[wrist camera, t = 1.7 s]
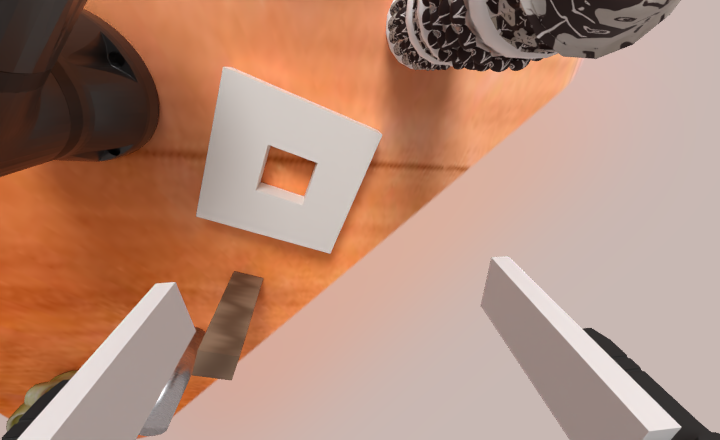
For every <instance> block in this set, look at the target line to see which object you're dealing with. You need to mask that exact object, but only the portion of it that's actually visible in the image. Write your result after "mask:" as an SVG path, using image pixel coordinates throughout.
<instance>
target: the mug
mask: <svg viewBox="0 0 720 440" xmlns="http://www.w3.org/2000/svg"><path fill="white" fill-rule="evenodd" d="M76 373H77V371H69V372H66V373H63V374H61V375H58V376H56V377H55V378H53V379H52V380H51V381H50V382H44V383H39V384H36V385H34V386H33V387H32V388H30V389H29V391H28V392H27V393H26V395H25V400H24V403H23V404H22V405H21V406H20V407H19V408H18V409H17V410H16V411H15V412H14V413H13V415H12V416H11V417H10V418H9V420H8V421H7V426H6V428H7V432H8V431H9V429H10V428H11V427H12V426H13V425H14V424H17V423H18V422H19V419H20V418H21V417H22V416H23V415H24V413H25V412H26V411H27V410H28V409H29V408H30V407H31V406H32V405H33V404H34V403H35V402H36V401H37V400H38V399H39V398H40V397H41V396H42V395H44V394H45V393H46V392H48V391H49V390H50V389H51V388H53V387H54V386H55V385H57V384H58V383H59V382H61V381H62V380H67V379H71V378H72V377H73V376H74V375H75V374H76Z"/></svg>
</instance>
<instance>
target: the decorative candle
mask: <svg viewBox="0 0 720 440" xmlns="http://www.w3.org/2000/svg"><path fill="white" fill-rule="evenodd" d="M680 1H681V0H393V2H392V4H391V7H390V9H389V11H388V14H387V23H386V36H387V40H388V44H389V48H390V50H391V52H392V53H393V55H394V56H395V57H396V59H397V60H398V62H400V63H401V64H403V65H405V66H407V67H408V68H410V69H414V70H427V71H429V70H432V71H434V70H435V69H437V70H441V69H443V70H446V69H448V68H449V67H450V66H453V67H454V68H455V69H462V68H464V67H465V68H466V69H469V70H477V71H486V70H488V69H489V68H490V69H491V70H493V71H496V72H501V71H504V70H506V69H507V68H508V67H510V69H511V70H513V71H518V70H521V69H523V68H524V67H526V66H527V65H528V63H529V62H530V60H532V61H539V60H541V59H543V58H547V57H550V56H553V55H555V54H558V53H559V54H560V55H562V56H565V57H579V58H594V59H597V58H599V57H602V56H604V55H607V54H609V53H612V52H615V51H617V50H620V49H622V48H625V47H627V46H630V45H633V44H634V43H635V42H636V41H638V40H639V39H640V38H641V37H642V36H644V35H645V34H646V33H648V32H649V31H650V30H651V29H652V28H654V27H655V26H656V25H657V24H659V23H660V22H661V21H662V20H663V19H665V18H666V17H667V16H668V15H670V13H671V12H672V11H673V10H674V8H675V7H676V6H677V5H678V3H679V2H680Z"/></svg>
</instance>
